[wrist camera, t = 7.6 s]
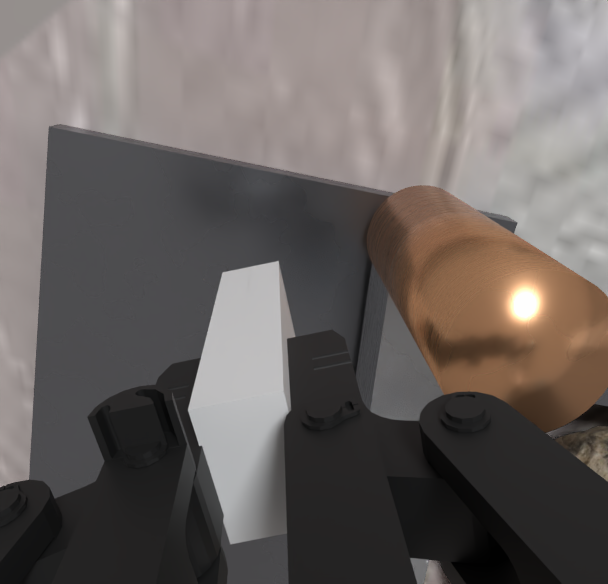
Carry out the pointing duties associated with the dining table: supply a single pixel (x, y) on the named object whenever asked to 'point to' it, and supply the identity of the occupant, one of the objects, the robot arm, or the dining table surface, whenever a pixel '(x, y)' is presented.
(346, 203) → the cracker base
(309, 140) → the dining table surface
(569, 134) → the dining table surface
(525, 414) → the lever
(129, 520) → the robot arm
